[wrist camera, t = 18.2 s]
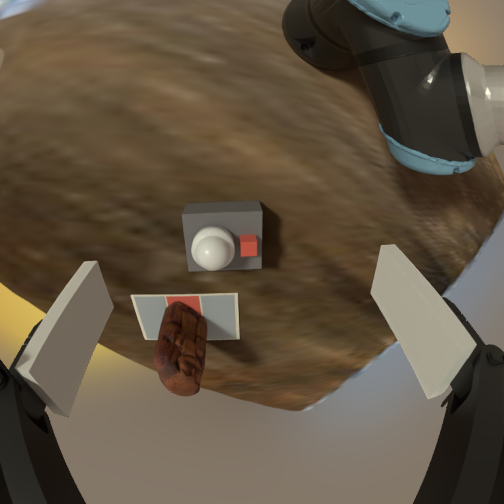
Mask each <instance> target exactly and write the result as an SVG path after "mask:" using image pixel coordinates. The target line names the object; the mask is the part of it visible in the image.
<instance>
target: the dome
mask: <svg viewBox="0 0 504 504" xmlns="http://www.w3.org/2000/svg"><path fill="white" fill-rule="evenodd" d="M191 253H192V256H193V259H194V260H195V262H196V263H197V264H198V265H200V266H201V267H203V268H204V269H207V270H211V271H214V270H219V269H221V268H224V267H226V266H227V265H228V264H229V263H230V262H231V261H232V259H233V257H234V253H235V246H234V238H233V236H232V234H231V233H230V232H229V231H228V230H227V229H226V228H224V227H222V226H219V225H208V226H205V227H203V228H201V229H200V230H199V231H198V232H197V233H196V234H195V236H194V239H193V243H192V248H191Z"/></svg>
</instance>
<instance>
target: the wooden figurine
mask: <svg viewBox="0 0 504 504" xmlns="http://www.w3.org/2000/svg"><path fill="white" fill-rule="evenodd" d="M206 341H207V322H206V320H205V318H204V317H203V316H198V314H197V313H196V312H195V311H194V310H193V309H192V308H186V307H185V306H184V305H183V304H182V303H181V302H179V301H177V302H173V303H172V304H170V305H169V306H168V307H166V309H165V312H164V316H163V319H162V322H161V326H160V330H159V334H158V340H157V344H156V347H155V356H154V362H155V366H156V368H157V369H158V371H159V372H158V374H159V377H160V380H161V382H162V383H163V385H164V386H165V387H166V388H167V389H168V390H169V391H171V392H172V393H174V394H177V395H180V396H191V395H194V394H196V393H198V391H199V389H200V387H199V386H200V381H201V377H202V374H203V369H204V366H205V353H206Z"/></svg>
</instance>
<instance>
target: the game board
mask: <svg viewBox="0 0 504 504" xmlns="http://www.w3.org/2000/svg"><path fill="white" fill-rule="evenodd" d="M131 298H132V301H133V305H134V308H135V311H136V314H137V317H138V320H139V323H140V326H141V329H142V332H143V335H144V338H145V340H158V334H159V330H160V326H161V322H162V319H163V316H164V312H165V309H166V307H168V306H169V305H170V304H172V303H173V302H177V301H179V302H181V303H182V304H183V305H184V306H185V307H186V308H192V309H193V310H194V311H195V312H196V313H197V314H198V316H203V317H204V318H205V320H206V322H207V340H231V339H240V336H239V313H238V293H216V294H173V295H131Z"/></svg>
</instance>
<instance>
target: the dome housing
mask: <svg viewBox="0 0 504 504" xmlns="http://www.w3.org/2000/svg"><path fill="white" fill-rule="evenodd" d="M182 220H183V229H184V238H185V246H186V254H187V262H188V269H189V271H211V270H207V269H204V268H203V267H201V266H200V265H198V264H197V263H196V262H195V260H194V259H193V256H192V253H191V248H192V243H193V239H194V236H195V234H196V233H197V232H198V231H199V230H200V229H201V228H203V227H205V226H208V225H219V226H222V227H224V228H226V229H227V230H228V231H229V232H230V233H231V234H232V236H233V238H234V246H235V253H234V257H233V259H232V261H231V262H230V263H229V264H228V265H227V266H226V267H224V268H221V269H219V270H241V269H262V208H261V205H260V202H259V201H231V202H206V203H187V204H186V206H185V208H184V211H183V213H182Z"/></svg>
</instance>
